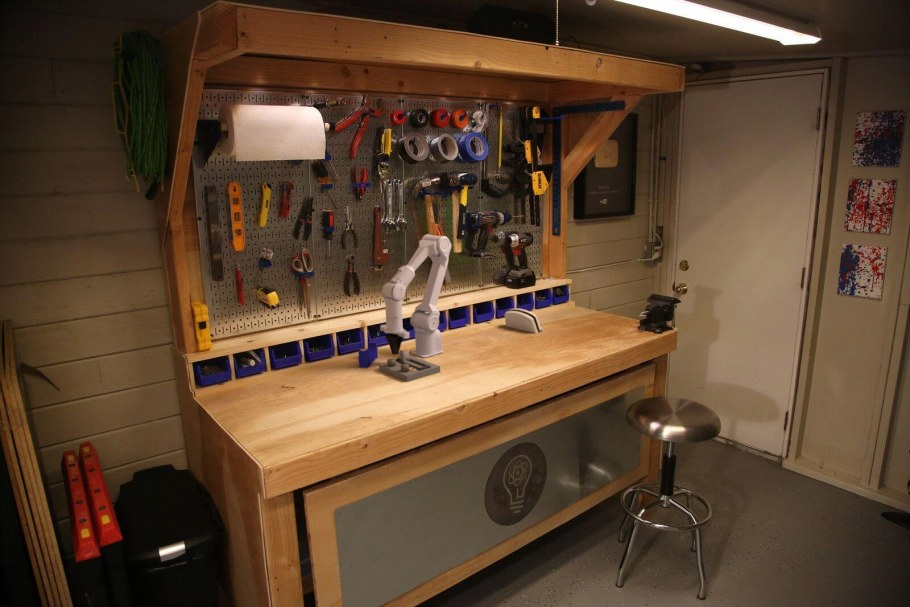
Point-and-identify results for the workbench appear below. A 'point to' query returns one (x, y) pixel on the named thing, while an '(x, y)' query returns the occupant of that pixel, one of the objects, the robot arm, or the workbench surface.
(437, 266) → the robot arm
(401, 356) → the fader tab
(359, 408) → the workbench surface
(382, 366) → the console board
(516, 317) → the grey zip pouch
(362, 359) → the blue block
